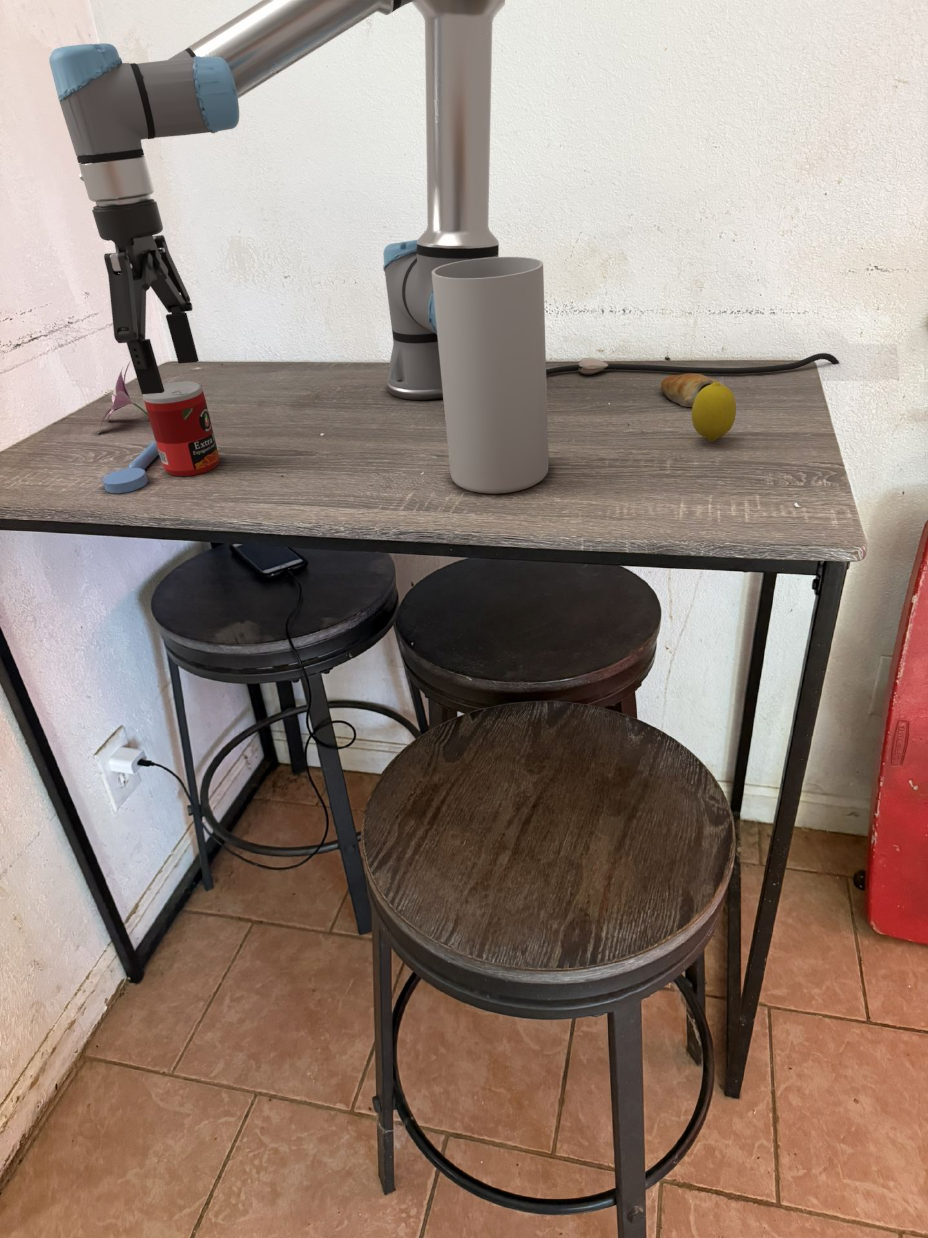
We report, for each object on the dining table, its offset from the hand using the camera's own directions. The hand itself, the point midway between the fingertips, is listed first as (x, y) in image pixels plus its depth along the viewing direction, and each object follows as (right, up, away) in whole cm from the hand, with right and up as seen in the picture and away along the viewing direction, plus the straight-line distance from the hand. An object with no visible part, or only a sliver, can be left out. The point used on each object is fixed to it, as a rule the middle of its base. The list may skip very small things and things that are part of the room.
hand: (171, 376), depth 112 cm
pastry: (+73, +1, +15) cm, 74 cm away
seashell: (+61, +9, +29) cm, 68 cm away
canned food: (+1, -11, +7) cm, 13 cm away
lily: (-16, 0, +26) cm, 31 cm away
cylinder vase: (+44, -14, -5) cm, 46 cm away
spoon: (-7, -10, +9) cm, 15 cm away
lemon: (+72, -9, 0) cm, 72 cm away
